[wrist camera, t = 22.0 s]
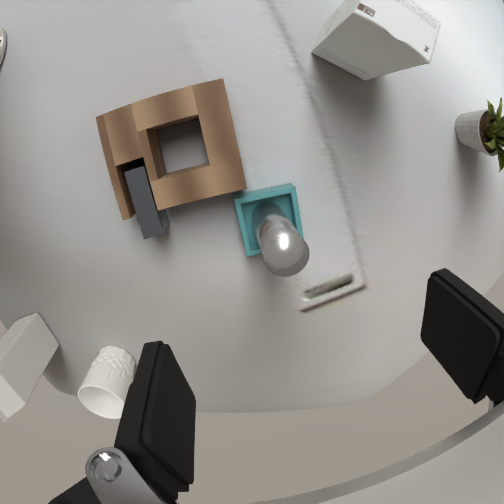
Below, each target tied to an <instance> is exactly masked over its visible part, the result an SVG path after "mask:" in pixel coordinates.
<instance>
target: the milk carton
mask: <svg viewBox="0 0 504 504" xmlns="http://www.w3.org/2000/svg"><path fill="white" fill-rule="evenodd" d="M58 346H59V343H58V341H57V340H56V339H55V337H54V336H53V334H52V333H51V331H50V330H49V328H48V327H47V325H46V324H45V322H44V321H43V319H42V318H41V316H40V315H39V313H38V312H37V313H34V314H31V315H29V316H26V317H24V318H21V319H19V320H16V321H15V322H14V324H13V325H12V326H11V327H10V328H9V330H8V331H7V332H6V333H5V335H4V336H3V337H2V338H1V340H0V419H1V420H2V421H3V422H4V423H6V422H7V420H8V418H9V417H11V416H12V415H13V414H14V413H16V412H17V411H18V410H20V409H21V408H22V407H24V406H25V405H26V404H27V402H28V400H29V398H30V396H31V394H32V392H33V390H34V388H35V386H36V384H37V383H38V381H39V379H40V377H41V375H42V374H43V372H44V370H45V368H46V366H47V365H48V363H49V361H50V360H51V358H52V356H53V354H54V353H55V351H56V349H57V348H58Z"/></svg>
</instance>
